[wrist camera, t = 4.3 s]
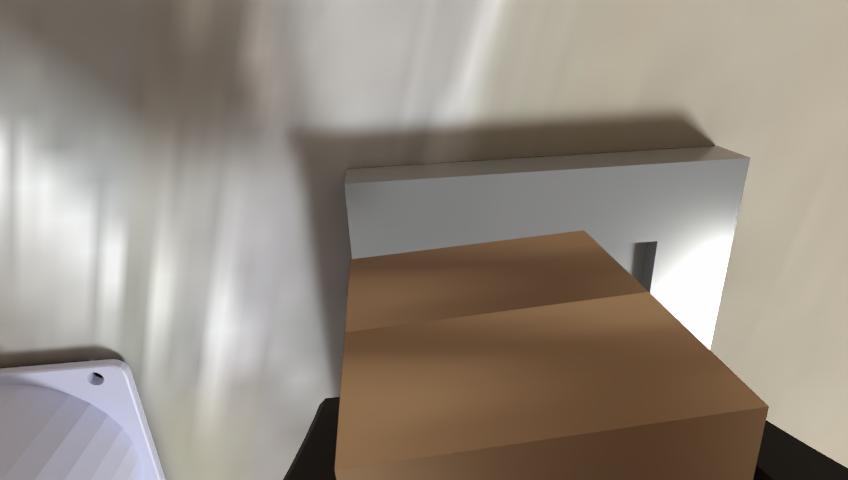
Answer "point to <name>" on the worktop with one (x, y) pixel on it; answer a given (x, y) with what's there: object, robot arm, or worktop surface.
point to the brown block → (530, 372)
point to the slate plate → (570, 213)
